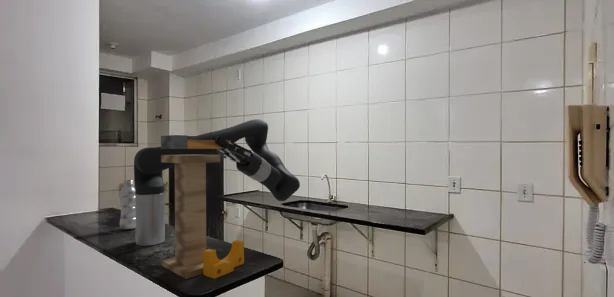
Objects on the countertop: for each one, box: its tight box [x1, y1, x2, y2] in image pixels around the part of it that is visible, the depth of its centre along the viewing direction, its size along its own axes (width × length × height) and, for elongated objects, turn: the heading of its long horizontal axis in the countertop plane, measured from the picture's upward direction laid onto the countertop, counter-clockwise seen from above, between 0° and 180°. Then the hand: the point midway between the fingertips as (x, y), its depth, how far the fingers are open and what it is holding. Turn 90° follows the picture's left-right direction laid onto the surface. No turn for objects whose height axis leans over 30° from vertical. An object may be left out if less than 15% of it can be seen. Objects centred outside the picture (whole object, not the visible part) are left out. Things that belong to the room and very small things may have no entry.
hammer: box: [160, 134, 231, 149], centre depth 93 cm, size 8×19×4 cm, turn 138°
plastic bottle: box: [118, 179, 136, 231], centre depth 133 cm, size 6×7×20 cm
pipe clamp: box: [202, 239, 245, 279], centre depth 88 cm, size 12×4×6 cm, turn 146°
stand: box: [161, 154, 221, 280], centre depth 90 cm, size 14×10×31 cm
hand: (213, 139), depth 96 cm, fingers closed on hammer, 2 cm apart
